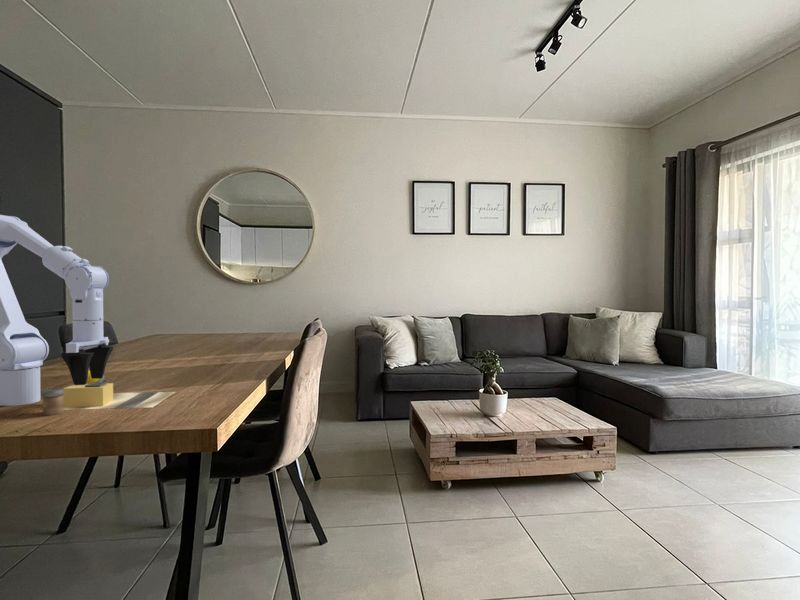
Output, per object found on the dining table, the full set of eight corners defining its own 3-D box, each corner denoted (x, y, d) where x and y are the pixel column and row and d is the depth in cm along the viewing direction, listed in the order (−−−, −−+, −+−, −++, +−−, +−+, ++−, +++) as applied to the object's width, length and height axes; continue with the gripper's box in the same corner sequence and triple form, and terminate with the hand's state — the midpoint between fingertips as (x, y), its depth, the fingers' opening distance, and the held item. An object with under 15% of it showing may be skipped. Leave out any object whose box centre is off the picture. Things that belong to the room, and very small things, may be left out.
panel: (51, 415, 101) (51, 410, 101) (88, 398, 117) (88, 393, 117) (152, 412, 104) (152, 407, 104) (175, 396, 120) (175, 391, 120)
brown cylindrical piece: (38, 422, 96) (38, 392, 96) (49, 417, 100) (48, 388, 100) (58, 421, 97) (58, 391, 97) (67, 416, 101) (67, 388, 100)
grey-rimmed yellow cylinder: (110, 391, 127) (81, 369, 121) (91, 399, 128) (62, 378, 121) (113, 376, 131) (86, 355, 125) (96, 384, 132) (67, 363, 125)
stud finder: (62, 407, 104) (62, 386, 104) (75, 401, 109) (74, 382, 109) (103, 405, 105) (102, 385, 105) (113, 400, 110) (113, 381, 110)
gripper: (91, 322, 100) (92, 387, 100) (121, 318, 114) (122, 375, 114) (54, 322, 99) (55, 388, 99) (89, 318, 113) (90, 376, 113)
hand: (88, 381), depth 107 cm, fingers open, 7 cm apart
